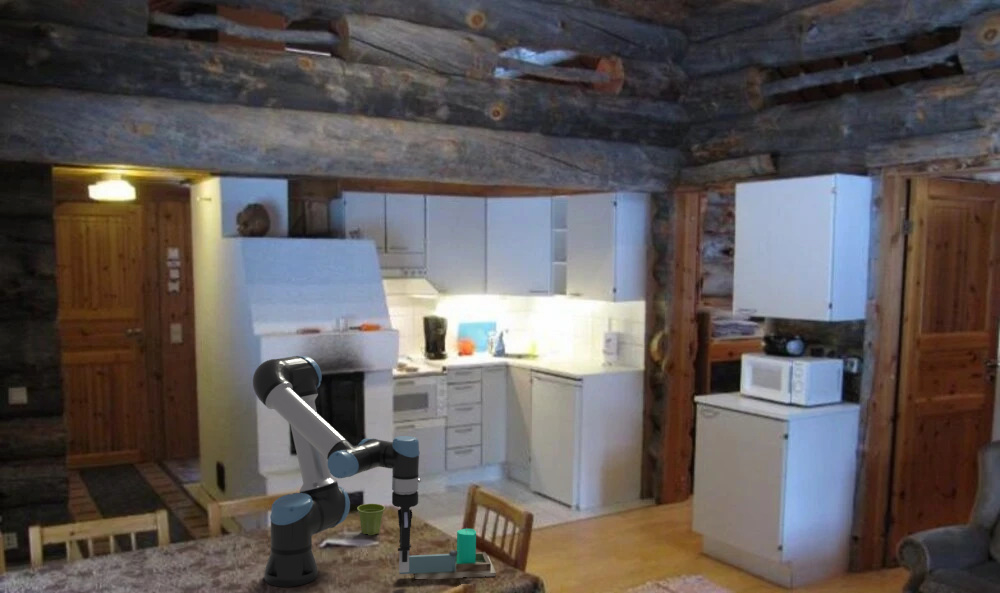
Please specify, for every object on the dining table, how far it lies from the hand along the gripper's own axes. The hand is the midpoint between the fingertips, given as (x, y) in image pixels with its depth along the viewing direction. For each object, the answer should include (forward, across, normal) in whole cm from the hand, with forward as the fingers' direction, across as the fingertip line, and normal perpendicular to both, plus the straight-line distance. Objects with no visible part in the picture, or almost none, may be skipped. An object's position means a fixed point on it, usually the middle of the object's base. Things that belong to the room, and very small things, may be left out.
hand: (404, 571), depth 236 cm
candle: (+3, +10, -19) cm, 22 cm away
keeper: (+3, +5, -8) cm, 10 cm away
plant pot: (+4, +46, +9) cm, 47 cm away
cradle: (+4, +10, -16) cm, 19 cm away
